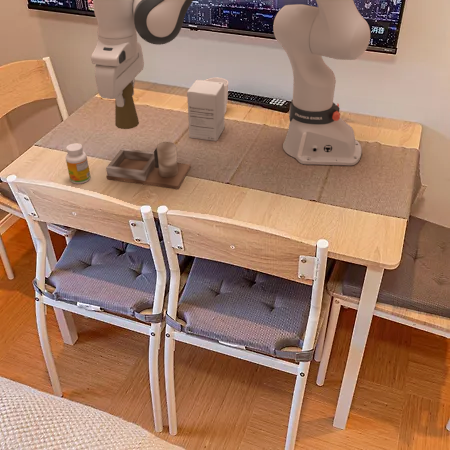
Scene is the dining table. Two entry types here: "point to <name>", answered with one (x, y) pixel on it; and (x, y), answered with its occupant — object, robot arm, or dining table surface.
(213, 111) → the supplement box
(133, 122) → the olive brown pawn
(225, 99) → the white cup
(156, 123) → the dining table surface
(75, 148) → the supplement bottle
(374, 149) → the dining table surface
